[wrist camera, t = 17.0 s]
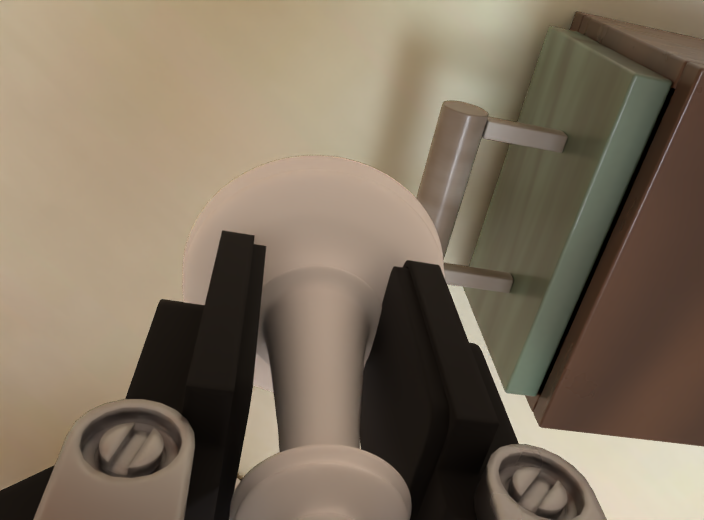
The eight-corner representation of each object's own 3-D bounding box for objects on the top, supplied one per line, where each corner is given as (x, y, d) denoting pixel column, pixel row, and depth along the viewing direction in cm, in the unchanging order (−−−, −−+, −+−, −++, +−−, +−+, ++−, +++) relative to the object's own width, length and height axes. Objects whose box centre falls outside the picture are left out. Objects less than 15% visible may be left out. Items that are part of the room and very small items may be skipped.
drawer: (369, 272, 29) (387, 379, 23) (437, 1, 24) (487, 42, 17) (719, 324, 32) (824, 433, 25) (852, 90, 26) (1026, 155, 20)
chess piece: (445, 364, 14) (686, 1163, 5) (211, 391, 14) (50, 1241, 5) (439, 139, 12) (868, 906, 3) (156, 169, 11) (-321, 1047, 3)
